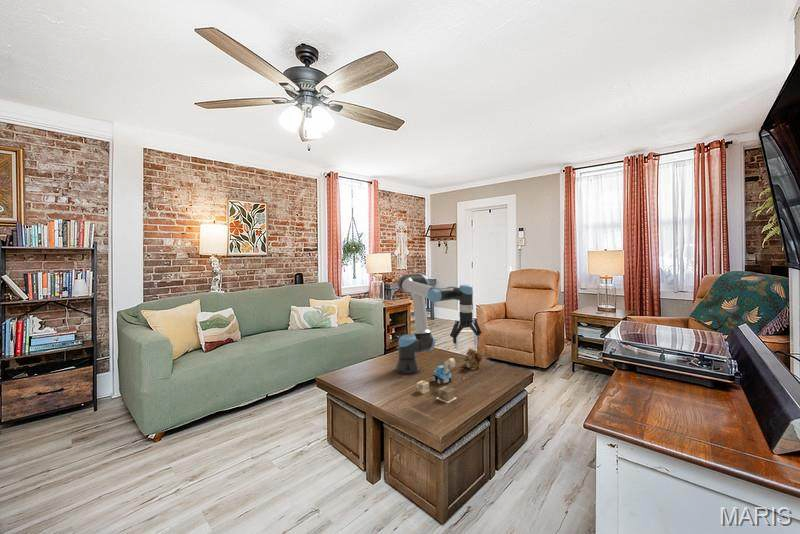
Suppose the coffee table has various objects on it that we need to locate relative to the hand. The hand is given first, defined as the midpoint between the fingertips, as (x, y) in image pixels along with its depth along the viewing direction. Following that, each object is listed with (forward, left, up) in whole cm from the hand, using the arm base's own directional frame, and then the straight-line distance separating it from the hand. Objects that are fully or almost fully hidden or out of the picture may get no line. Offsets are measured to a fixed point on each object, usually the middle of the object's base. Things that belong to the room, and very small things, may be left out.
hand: (465, 347), depth 195 cm
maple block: (-13, -24, -24) cm, 36 cm away
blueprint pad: (0, -20, -24) cm, 31 cm away
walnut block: (+2, -22, -23) cm, 32 cm away
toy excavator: (-12, -5, -24) cm, 27 cm away
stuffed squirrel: (-15, +31, -24) cm, 42 cm away
